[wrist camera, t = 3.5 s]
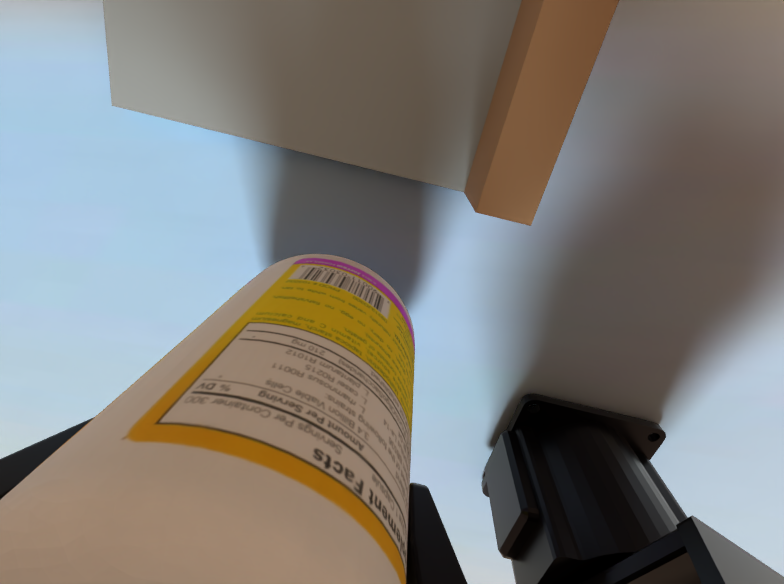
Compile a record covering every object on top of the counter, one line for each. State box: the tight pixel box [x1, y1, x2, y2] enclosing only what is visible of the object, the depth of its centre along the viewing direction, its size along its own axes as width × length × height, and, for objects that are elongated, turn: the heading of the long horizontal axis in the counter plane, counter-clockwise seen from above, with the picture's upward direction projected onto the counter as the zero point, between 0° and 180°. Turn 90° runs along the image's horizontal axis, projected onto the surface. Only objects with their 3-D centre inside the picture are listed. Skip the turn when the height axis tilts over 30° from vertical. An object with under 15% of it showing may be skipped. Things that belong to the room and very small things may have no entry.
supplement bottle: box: [0, 254, 415, 584], centre depth 8 cm, size 7×7×13 cm
